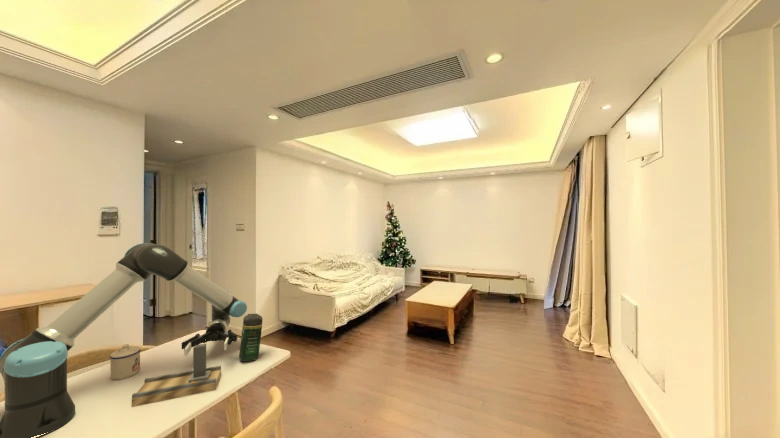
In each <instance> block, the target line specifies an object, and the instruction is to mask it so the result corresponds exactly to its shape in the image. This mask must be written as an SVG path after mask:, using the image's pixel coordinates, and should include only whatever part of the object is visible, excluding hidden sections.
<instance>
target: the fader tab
mask: <svg viewBox="0 0 780 438" xmlns="http://www.w3.org/2000/svg"><path fill="white" fill-rule="evenodd" d="M192 348H193V349H192V350H193V351H192V352H193V353H192V355H193V359H192V360H193V361H192V362H193V363H192V366H193V368H192V370H193V373H192V375H191V377H190V379H189V380H188V383H192V381H195V382H197V381H203V380H208V378H209V376H210V373H211V370H209V371H206V368H207V343H201V344H199V345H195V346H194V347H192Z"/></svg>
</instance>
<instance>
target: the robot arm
mask: <svg viewBox="0 0 780 438" xmlns="http://www.w3.org/2000/svg"><path fill="white" fill-rule="evenodd" d="M151 275H154V276H157V277H159V278H162V279H165V281H167V282H174V283H177V284H178V285H179V286H180V287H182V288H184V289H186V290H188V292H191V293H193V294H194V295H196V296H197V297H199V298H200V299H203V300H204V301H205V302H207V303H209V304H210V305H211V323H210V324H209V326H208V327H207V329H206V331H205V333H204V334H202V335H200V333H196V334H195V335H193V336H192V337H191V338H188V339H187V340H185V341H183V342H181V350H183V354H184V355H183V357H187V356H188V355H189V353H190V352H191V350H192V348H194V346H195V345H200V344H207V343H209V342H217V341H219V342H221V341H222V342H224V344H223V351H227V349H228V347H229V346H230V345H231V344H232V343H233V342H234V343H235V342H238V335H237V334H236V333H235V332H233V331H232V329H228V327H229V326H230V323H231V318H241V317H242V316H243V315H245V313H246V312H247V309H248V306H247V303H246V302H245V301H242V300H241V299H240V300H239V299H238V298H237V297H235V296H233V295H232V294H231V293H230V292H229V291H226V290H225V289H223V288H222V287H221V286H219V285H218V284H216V283H215V282H213V281H212V280H210V279H209V278H207V277H206V276H204V275H203V274H201V273H200V272H198V271H197V270H195V269H194V268H192V267H191V266H190V265H189V261H188V260H186V259H184V258H183V257H182V256H180V255H179V254H177V252H176V251H174V250H173V249H171V248H170V247H168V246H166V245H163V244H158V243H157V244H156V243H150V242H144V243H143V242H141V243H138V244H136V245H133V246H131V247H130V248H129V249H128V250H127V251H126V252H125V254H124V256H123V257H122V258H121V259H119V260H118V261H117V263H115V269H114V270H113V271H112V272H111V273H110V274H108V275H107V276H106V277H104V279H102V280H101V281H100V282H99V283H98V284H96V285H95V286H94V287H93V288H92V289H91V290H89V291H88V292H86V293H85V294H84V295H83V296H82V297H80V298H79V299H78V300H77V301H76V302H75V303H74V304H72V305H71V306H70V307H68V309H66V310H65V311H64V312H63V313H61V314H60V315H59V316H58V317H57V318H55V319H54V320H53V321H52V322H50V323H49V324H48V325H46V326H42V327H37V328H35V329H34V330H33V331H32V332H30V333H29V334H28V335H27V336H26V337H25V338H22V339H19V340H17V341H16V342H15V341H14V342H13V343H12V344H11V345H9V346H8V347H7V348H6V349H5V350H4V351H3V352H2V353H1V355H0V374H1V376H2V379H3V382H4V412H3V414H2V416H1V418H0V438H31V437H34V436H37V435H41V434H44V433H47V432H50V431H52V430H54V429H56V428H58V427H59V428H61V427H63V426H64V425H66V424H67V423H68V422H70V421H71V420H72V419H73V418H74V417H75V415H76V405H75V403H74V401H73V399H72V397H71V396H70V394H69V392H68V356H69V355H68V354H69V351H70V350H71V349H72V348H73V347H74V346H75V339H76V338H77V337H78V336H79V335H81V333H83V332H84V331H85V330H86V329H87V328H88V327H89V326H91V324H92V323H94V321H96V320H97V319H99V317H100V316H101V315H103V314H104V313H105V312H107V310H108V309H110V307H111V306H113V304H115V303H116V302H118V300H119V299H120V298H122V297H123V296H124V295H125V294H126V293H127V292H128V291H129V290H130V289H131V288H133V286H135V285H136V284H137V283H140V282H145V281H146V280H147V279H148V278H150V276H151ZM227 329H228V330H227ZM62 425H63V426H62ZM60 426H61V427H60ZM59 428H58V429H59ZM56 430H57V429H56ZM54 431H55V430H54ZM52 432H53V431H52ZM50 433H51V432H50Z"/></svg>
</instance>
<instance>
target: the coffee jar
mask: <svg viewBox="0 0 780 438" xmlns="http://www.w3.org/2000/svg"><path fill="white" fill-rule="evenodd" d="M242 320H243V322H242V327H241V328H242V329H241V337H240V345H239V353H238V354H239V355H238V357H239V360H240V361H242V362H252V361H254V360H256V359H258V358H259V355H260V347H261V337H262V330H263V329H262V328H263V320H264V319H263V317H262V316H261V315H260V314H258V313H248V314H246V315H245V316H243V319H242Z"/></svg>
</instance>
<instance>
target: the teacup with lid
mask: <svg viewBox="0 0 780 438" xmlns="http://www.w3.org/2000/svg"><path fill="white" fill-rule="evenodd" d="M141 350H142V348H140V346H132V345H130V344H129V343H128V344H123V345H122V347H120V348H119V349H117V350H115V351H113V352H111V354H110V355H109V359H110V362H109V363H110V366H109V367H110V379H111V380H115V381H116V380H124V379H127V378H130V377H132V376H135V375H136V374H138V373H139V372H140V370H141Z"/></svg>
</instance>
